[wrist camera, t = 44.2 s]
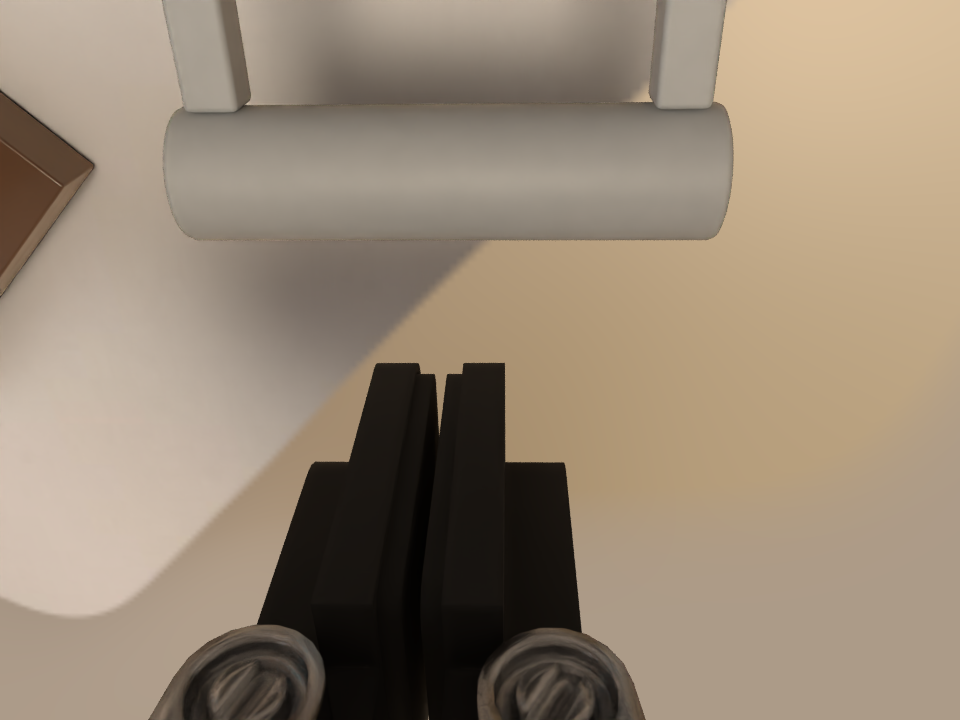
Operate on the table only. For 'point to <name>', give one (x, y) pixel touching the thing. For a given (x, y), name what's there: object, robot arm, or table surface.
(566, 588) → the robot arm
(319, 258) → the table surface
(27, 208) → the stand
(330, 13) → the table surface
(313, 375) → the table surface
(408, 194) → the drawer
